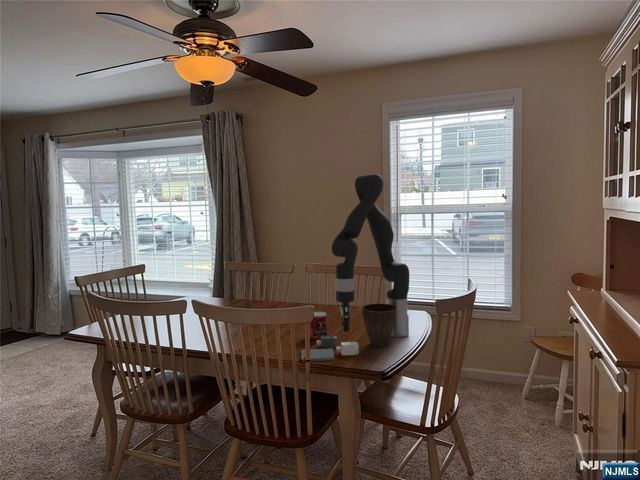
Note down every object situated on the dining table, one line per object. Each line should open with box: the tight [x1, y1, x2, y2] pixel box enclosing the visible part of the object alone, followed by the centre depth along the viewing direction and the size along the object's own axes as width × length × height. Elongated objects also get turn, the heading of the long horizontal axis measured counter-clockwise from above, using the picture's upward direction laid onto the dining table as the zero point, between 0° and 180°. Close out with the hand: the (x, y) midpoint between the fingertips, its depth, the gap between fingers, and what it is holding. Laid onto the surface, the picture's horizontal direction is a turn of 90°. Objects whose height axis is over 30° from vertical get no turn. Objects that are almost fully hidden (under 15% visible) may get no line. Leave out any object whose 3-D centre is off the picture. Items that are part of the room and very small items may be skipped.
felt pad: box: [300, 348, 335, 362], centre depth 181 cm, size 13×11×1 cm
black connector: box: [316, 335, 339, 349], centre depth 191 cm, size 9×4×4 cm, turn 91°
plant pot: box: [361, 303, 397, 347], centre depth 193 cm, size 15×15×16 cm
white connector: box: [335, 341, 360, 356], centre depth 183 cm, size 9×4×4 cm, turn 91°
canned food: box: [309, 311, 328, 341], centre depth 205 cm, size 8×8×11 cm
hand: (345, 328), depth 182 cm, fingers open, 8 cm apart
